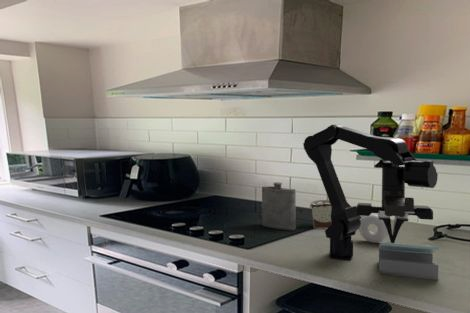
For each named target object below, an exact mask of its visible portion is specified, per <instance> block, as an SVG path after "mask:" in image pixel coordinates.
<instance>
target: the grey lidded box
mask: <svg viewBox="0 0 470 313" xmlns="http://www.w3.org/2000/svg"><path fill="white" fill-rule="evenodd" d="M433 254H434V253H432V254H431V253H419V252H408V251H397V250H386V249H379V248H378V267H379V274H380V275H388V276H389V275H390V276H396V277H397V276H398V277H407V278H416V279H424V280H433V281H434V280H435V281H438V280H439V263H435V262H433V261H434V259H433V258H434V255H433Z"/></svg>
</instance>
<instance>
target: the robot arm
mask: <svg viewBox="0 0 470 313" xmlns="http://www.w3.org/2000/svg"><path fill="white" fill-rule="evenodd" d="M338 140H339V141H343V142H346V143H349V144H352V145H354V146H358V147H360V148H363V149H366V150H368V151H370V152H371V153H372V154H373V155H374V156H376V157H377V158H379V161H378V162H377V163H376V164H374V165H373V166H374V168H375V169H381V206H375V205H373V206H372V203H371V202H370V203H369V202H368V203H367V202H358V203H357V204H356V205H353V206H351V205H350V204H349V203H348V200H347V198H346V196H345V193H344V190H343V187H342V185H341V182H340V180H339V177H338V175H337V172H336V170H335V167H334V165H333V162H332V152H333V149H332V146H333V145H334V144H336V143H337V142H338ZM302 144H303V149H304V152H305V153H306V155H307V157H308V158H309V159H310V161H312V162H313V163H314V164H315V166H316V168H317V170H318V175H319V176H320V179H321V182H322V184H323V188H324V190H325V192H326V196H327V198H328V199H327V200H329V201H330V204H331V207H332V209H331V222H332V225H331V226H330V227H328V228H325V230H324V233H325V237H326V238H327V239H329V254H328V258H329V259H337V260H348V261H350V260H352V257H353V256H354V240H352V236H355V235H356V233H357V231H359V227H360V225H361V221H360V220H361V218H362V217H364V216H369V215H370V214H377V215H378V218H379V220H383V222H384V224H385V226H386V228H387V231H388V237H389V242H391V243H395V241H396V239H397V237H398V234H399V231H400V229H401V227H402V226H403V224H404V223H405V222H409V218H408V217H409V216H416V217H417V218H418V219H419V220H426V221H427V220H430V221H431V220H432V221H433V220H434V211H433V209H432V208H431V207H429V206H428V205H415V199H414V197H405V195H406V194H405V193H406V192H405V190H406V186H405V185H406V184H407V186H408V187H413V188H426V189H427V188H428V189H434V188H435V187H436V185H437V182H438V175H439V173H438V172H437V168H436V166H435V165H434V161H433V160H424V161H423V160H417V158H415V156H413V154H412V153H411V151H410V150H409V148H408V144H407V142H406V141H405V140H404V139H402V138H398V137H389V136H388V137H387V136H378V135H377V136H376V135H373V134H370V133H367V132H363V131H360V130H357V129H353V128H350V127H347V126H344V125H343V124H330V125H329V126H327V127H326V128H325V129H323V130H321V131H318V132H316V133H315V134H313V135H308V136H307V137H305V139H304V141H303V143H302ZM391 217H394V220H393V225H392V222H391V221H392V220H391ZM392 226H393V228H392Z"/></svg>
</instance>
